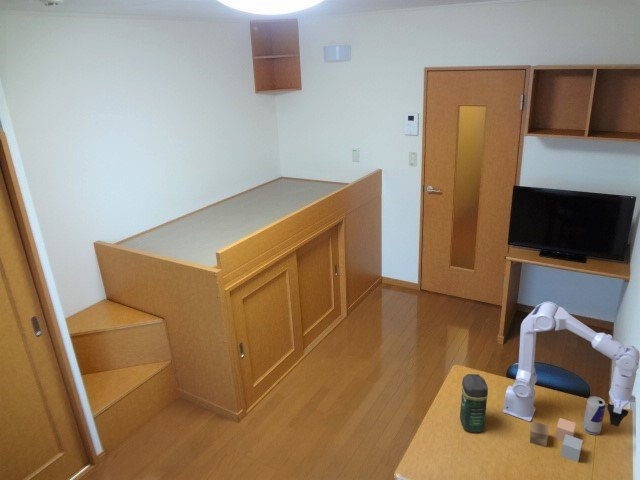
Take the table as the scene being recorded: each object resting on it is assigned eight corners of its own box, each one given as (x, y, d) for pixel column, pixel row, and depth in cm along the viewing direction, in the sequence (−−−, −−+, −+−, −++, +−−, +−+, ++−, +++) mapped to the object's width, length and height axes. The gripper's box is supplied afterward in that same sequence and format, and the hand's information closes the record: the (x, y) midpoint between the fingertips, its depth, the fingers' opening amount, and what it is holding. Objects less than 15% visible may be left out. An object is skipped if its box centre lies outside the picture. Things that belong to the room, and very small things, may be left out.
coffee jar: (487, 433, 166) (491, 389, 159) (463, 433, 166) (466, 389, 159) (480, 414, 175) (483, 371, 168) (457, 414, 175) (460, 371, 168)
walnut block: (529, 443, 161) (531, 431, 159) (530, 432, 165) (532, 421, 163) (546, 447, 159) (547, 435, 157) (546, 436, 163) (548, 425, 161)
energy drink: (602, 436, 162) (608, 407, 158) (585, 434, 163) (590, 405, 159) (597, 424, 167) (602, 396, 162) (580, 423, 168) (585, 395, 163)
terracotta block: (554, 438, 162) (556, 426, 160) (557, 429, 166) (559, 417, 164) (571, 444, 159) (573, 432, 158) (573, 434, 163) (576, 423, 161)
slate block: (560, 456, 155) (562, 444, 153) (563, 446, 159) (565, 434, 157) (577, 462, 152) (580, 450, 151) (580, 452, 156) (582, 440, 154)
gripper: (636, 400, 143) (628, 436, 148) (639, 374, 154) (632, 408, 159) (608, 392, 147) (601, 427, 152) (614, 367, 158) (607, 401, 163)
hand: (615, 417), depth 156 cm, fingers open, 7 cm apart
